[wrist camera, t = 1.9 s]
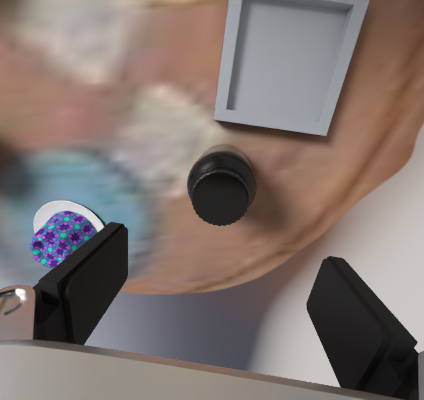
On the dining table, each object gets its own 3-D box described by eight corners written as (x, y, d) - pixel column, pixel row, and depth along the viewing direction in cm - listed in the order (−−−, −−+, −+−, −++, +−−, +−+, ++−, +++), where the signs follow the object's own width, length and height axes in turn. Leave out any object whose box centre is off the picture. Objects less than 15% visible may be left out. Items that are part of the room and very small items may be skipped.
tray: (232, -17, 21) (232, -30, 19) (360, 1, 21) (373, -11, 19) (214, 119, 26) (213, 119, 24) (318, 134, 25) (326, 135, 24)
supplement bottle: (258, 158, 27) (281, 183, 16) (233, 201, 29) (238, 250, 18) (211, 133, 26) (200, 141, 15) (189, 179, 29) (166, 217, 17)
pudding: (22, 217, 33) (-14, 234, 28) (78, 185, 30) (50, 198, 25) (71, 273, 36) (47, 297, 31) (125, 249, 34) (108, 270, 29)
